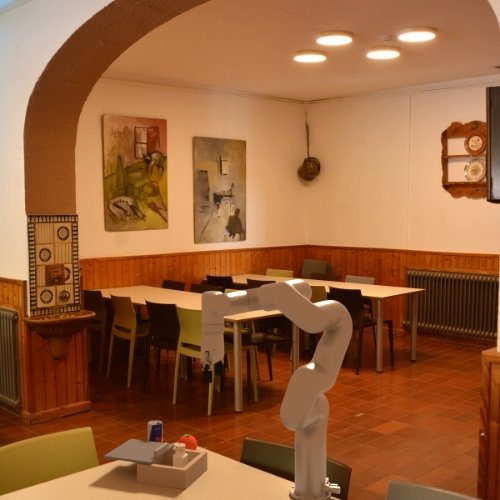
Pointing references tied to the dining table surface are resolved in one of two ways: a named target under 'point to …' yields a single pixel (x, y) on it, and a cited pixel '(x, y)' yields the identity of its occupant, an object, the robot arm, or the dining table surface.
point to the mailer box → (173, 470)
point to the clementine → (188, 442)
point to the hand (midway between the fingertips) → (213, 378)
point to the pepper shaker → (180, 456)
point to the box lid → (140, 451)
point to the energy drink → (155, 431)
